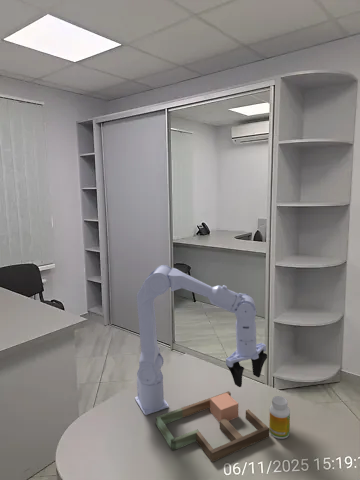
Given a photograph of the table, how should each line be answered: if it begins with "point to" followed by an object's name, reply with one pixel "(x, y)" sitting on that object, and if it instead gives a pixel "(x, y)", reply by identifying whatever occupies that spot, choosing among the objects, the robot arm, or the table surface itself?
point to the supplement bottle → (279, 418)
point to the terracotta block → (224, 407)
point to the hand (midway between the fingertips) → (247, 380)
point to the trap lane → (231, 433)
